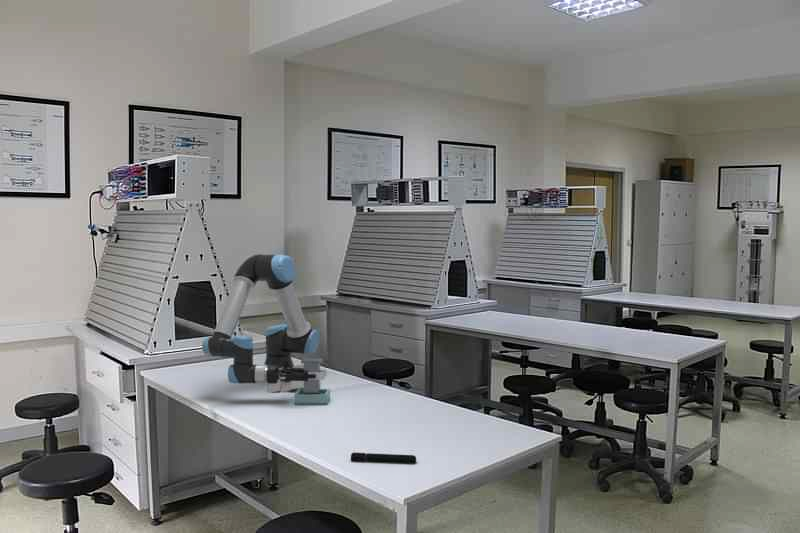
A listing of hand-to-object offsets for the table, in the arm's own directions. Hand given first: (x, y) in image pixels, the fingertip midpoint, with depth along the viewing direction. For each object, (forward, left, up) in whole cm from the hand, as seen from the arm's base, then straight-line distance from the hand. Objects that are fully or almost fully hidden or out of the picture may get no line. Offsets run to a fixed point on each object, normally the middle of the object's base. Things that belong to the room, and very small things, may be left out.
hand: (325, 374), depth 246 cm
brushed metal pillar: (0, -5, -8) cm, 10 cm away
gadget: (+62, +26, -12) cm, 68 cm away
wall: (-20, -19, -12) cm, 30 cm away
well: (0, -5, -11) cm, 12 cm away
